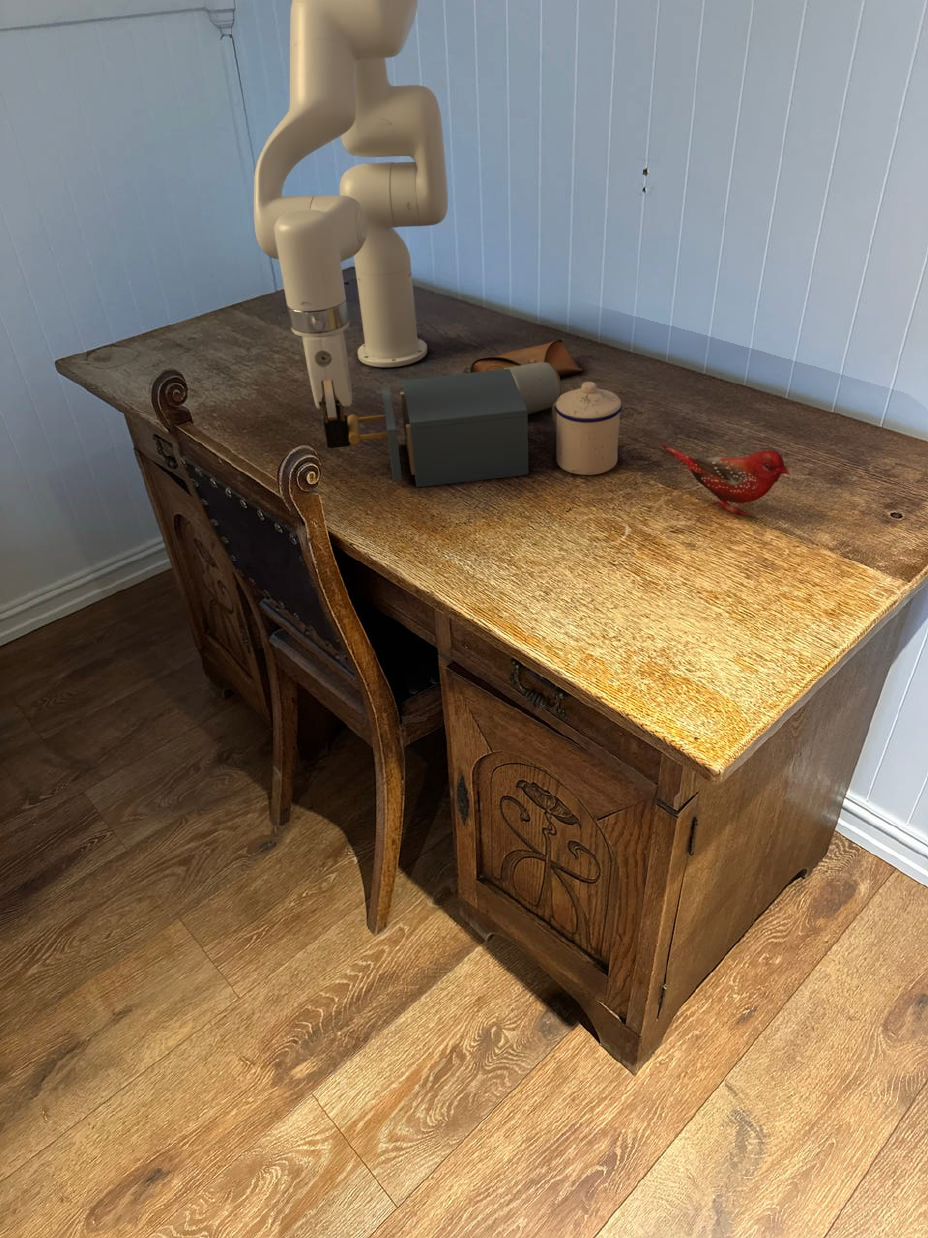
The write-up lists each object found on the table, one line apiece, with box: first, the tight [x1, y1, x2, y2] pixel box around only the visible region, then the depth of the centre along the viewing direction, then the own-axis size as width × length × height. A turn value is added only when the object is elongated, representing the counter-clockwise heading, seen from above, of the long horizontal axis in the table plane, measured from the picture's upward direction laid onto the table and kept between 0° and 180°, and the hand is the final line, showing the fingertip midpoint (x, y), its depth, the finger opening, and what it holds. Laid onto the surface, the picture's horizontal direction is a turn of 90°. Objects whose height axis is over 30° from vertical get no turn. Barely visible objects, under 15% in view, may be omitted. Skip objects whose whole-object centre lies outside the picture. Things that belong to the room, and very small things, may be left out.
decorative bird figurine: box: [661, 444, 790, 517], centre depth 114 cm, size 3×18×10 cm, turn 47°
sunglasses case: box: [470, 339, 584, 379], centre depth 152 cm, size 18×7×7 cm
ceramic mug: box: [504, 362, 562, 415], centre depth 141 cm, size 11×8×8 cm
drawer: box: [347, 388, 415, 483], centre depth 128 cm, size 20×13×8 cm, turn 97°
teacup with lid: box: [551, 381, 623, 476], centre depth 126 cm, size 12×9×12 cm
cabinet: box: [401, 369, 529, 488], centre depth 128 cm, size 16×14×10 cm
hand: (339, 444), depth 127 cm, fingers closed
